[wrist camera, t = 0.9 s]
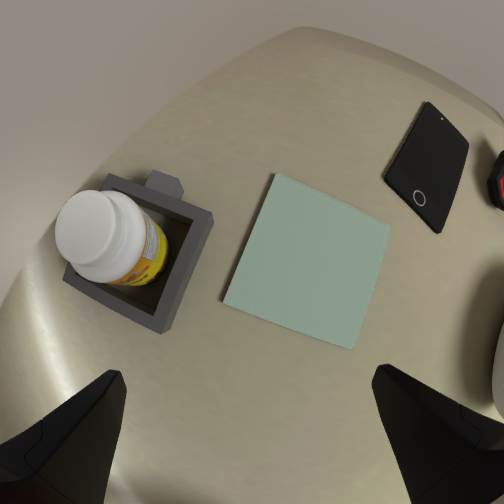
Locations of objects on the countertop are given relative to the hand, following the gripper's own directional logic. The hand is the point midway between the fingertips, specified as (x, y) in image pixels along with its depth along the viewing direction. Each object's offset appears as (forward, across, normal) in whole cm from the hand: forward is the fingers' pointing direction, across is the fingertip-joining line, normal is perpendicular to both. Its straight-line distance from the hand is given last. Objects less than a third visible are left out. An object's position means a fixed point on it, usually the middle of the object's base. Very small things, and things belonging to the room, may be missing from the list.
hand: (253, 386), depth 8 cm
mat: (+15, -6, +1) cm, 16 cm away
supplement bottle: (+15, +8, +1) cm, 17 cm away
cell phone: (+21, -23, -10) cm, 33 cm away
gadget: (+20, -39, -9) cm, 45 cm away
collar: (+15, +8, 0) cm, 17 cm away
